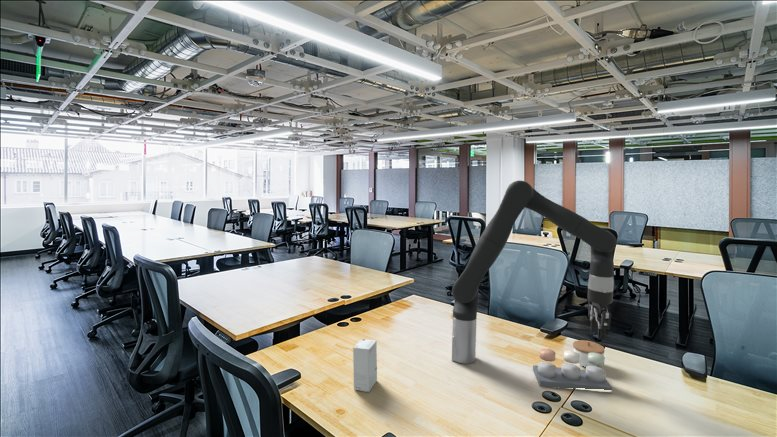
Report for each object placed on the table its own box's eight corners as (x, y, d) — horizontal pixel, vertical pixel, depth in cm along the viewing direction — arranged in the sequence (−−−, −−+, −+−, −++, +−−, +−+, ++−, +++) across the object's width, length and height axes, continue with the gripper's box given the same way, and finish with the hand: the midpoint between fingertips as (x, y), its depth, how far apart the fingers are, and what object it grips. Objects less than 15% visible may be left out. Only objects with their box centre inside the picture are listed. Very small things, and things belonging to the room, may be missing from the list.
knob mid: (565, 362, 127) (566, 356, 127) (561, 356, 132) (562, 349, 132) (581, 364, 126) (581, 357, 126) (576, 357, 131) (577, 351, 131)
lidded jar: (568, 357, 148) (569, 334, 147) (597, 360, 146) (598, 337, 145) (576, 370, 137) (577, 346, 136) (607, 373, 135) (609, 349, 134)
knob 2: (590, 365, 125) (591, 358, 125) (585, 358, 130) (586, 351, 130) (606, 366, 125) (607, 359, 124) (600, 359, 129) (601, 353, 129)
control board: (539, 386, 126) (540, 372, 126) (532, 370, 137) (533, 357, 137) (612, 393, 122) (613, 379, 122) (599, 376, 133) (600, 363, 132)
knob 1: (541, 360, 128) (542, 354, 128) (538, 354, 133) (538, 348, 133) (556, 362, 127) (557, 355, 127) (553, 355, 132) (553, 349, 132)
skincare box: (369, 393, 122) (369, 350, 120) (352, 389, 123) (352, 347, 122) (377, 380, 130) (377, 339, 128) (361, 377, 131) (361, 337, 130)
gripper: (581, 281, 133) (579, 326, 134) (596, 293, 119) (593, 343, 120) (603, 283, 131) (601, 328, 133) (621, 294, 117) (618, 345, 119)
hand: (597, 335), depth 127 cm, fingers open, 6 cm apart
